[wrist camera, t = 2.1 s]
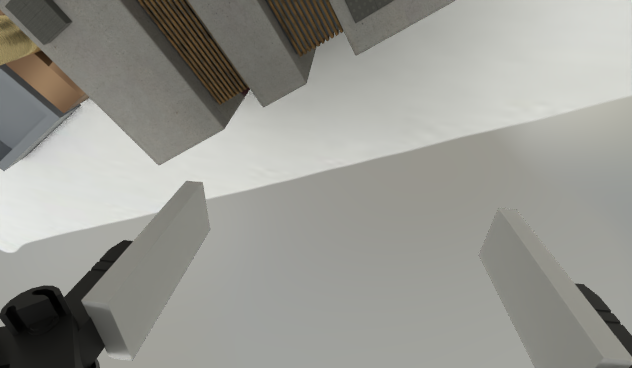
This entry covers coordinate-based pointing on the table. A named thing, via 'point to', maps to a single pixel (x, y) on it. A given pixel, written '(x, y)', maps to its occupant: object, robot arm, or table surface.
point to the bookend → (197, 54)
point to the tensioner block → (48, 80)
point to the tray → (23, 117)
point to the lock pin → (14, 42)
